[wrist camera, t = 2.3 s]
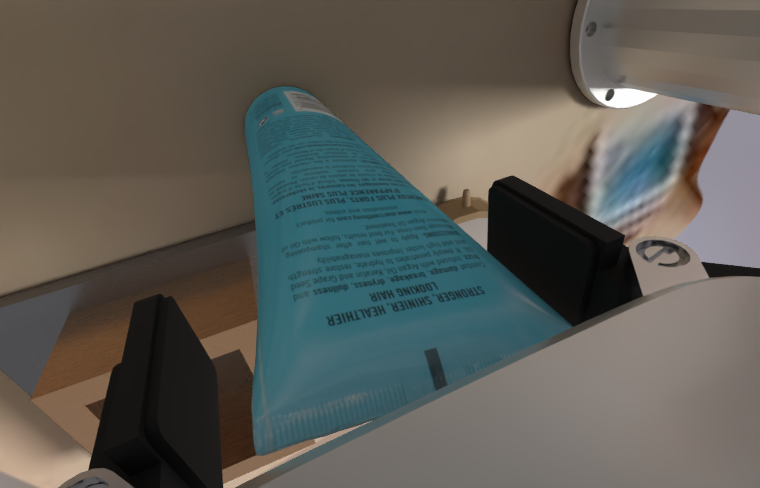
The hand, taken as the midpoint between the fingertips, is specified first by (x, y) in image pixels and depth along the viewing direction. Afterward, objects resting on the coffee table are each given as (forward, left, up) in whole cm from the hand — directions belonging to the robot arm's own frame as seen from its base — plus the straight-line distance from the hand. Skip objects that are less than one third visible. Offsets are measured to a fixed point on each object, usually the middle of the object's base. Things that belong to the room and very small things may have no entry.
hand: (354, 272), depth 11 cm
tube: (-1, 0, -15) cm, 15 cm away
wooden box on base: (+9, +13, -15) cm, 22 cm away
